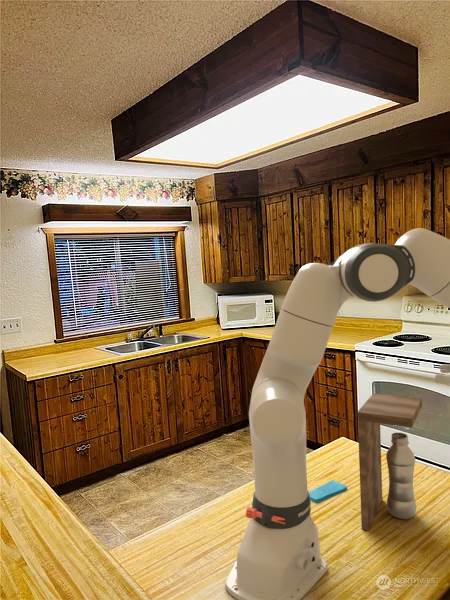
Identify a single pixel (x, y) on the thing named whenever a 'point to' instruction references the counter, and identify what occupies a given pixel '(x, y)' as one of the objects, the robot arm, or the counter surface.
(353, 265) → the robot arm
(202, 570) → the counter surface
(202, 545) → the counter surface
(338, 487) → the sponge
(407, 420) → the counter shelf
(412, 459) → the plastic bottle
